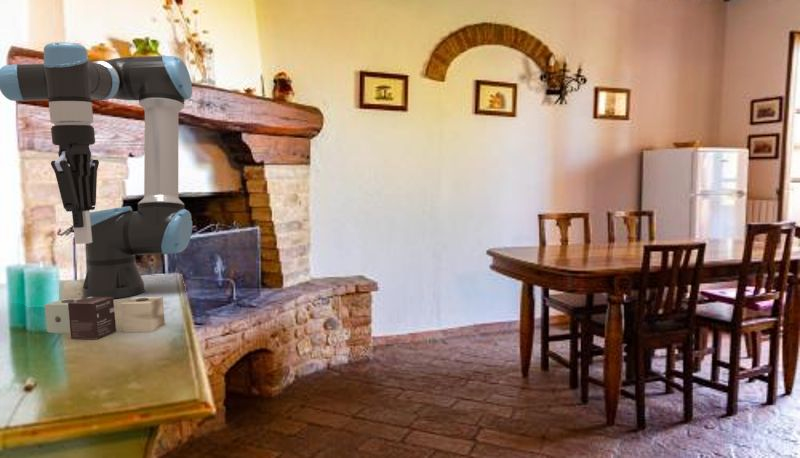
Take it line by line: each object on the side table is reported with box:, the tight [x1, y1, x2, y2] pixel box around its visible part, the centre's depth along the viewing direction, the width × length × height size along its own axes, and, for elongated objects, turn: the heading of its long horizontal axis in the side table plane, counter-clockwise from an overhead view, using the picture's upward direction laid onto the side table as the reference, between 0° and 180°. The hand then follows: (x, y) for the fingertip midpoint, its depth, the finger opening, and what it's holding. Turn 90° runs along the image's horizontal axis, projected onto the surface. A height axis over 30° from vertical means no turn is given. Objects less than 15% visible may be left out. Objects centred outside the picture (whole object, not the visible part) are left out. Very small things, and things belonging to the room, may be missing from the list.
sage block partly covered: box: [44, 297, 80, 335], centre depth 126 cm, size 6×6×6 cm
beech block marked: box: [120, 296, 166, 333], centre depth 125 cm, size 6×6×6 cm
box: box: [68, 297, 117, 340], centre depth 121 cm, size 6×6×7 cm
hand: (83, 242), depth 122 cm, fingers closed
